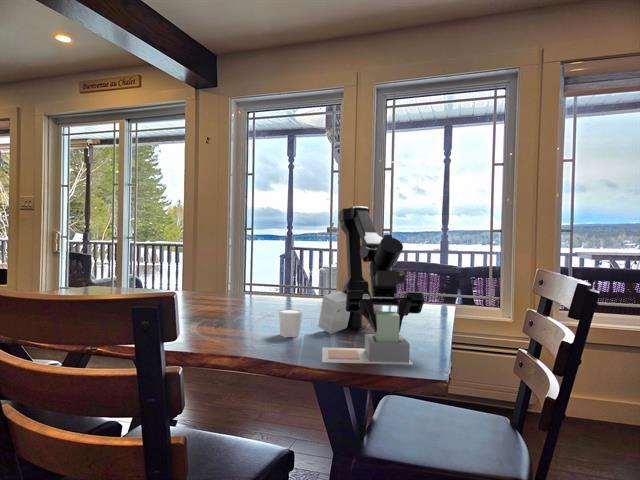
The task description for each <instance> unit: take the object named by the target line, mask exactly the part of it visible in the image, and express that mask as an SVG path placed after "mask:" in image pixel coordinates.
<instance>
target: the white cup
mask: <svg viewBox="0 0 640 480" xmlns="http://www.w3.org/2000/svg"><path fill="white" fill-rule="evenodd" d="M302 314H303V311H301V310H297V309H283V310H279V311H278V321H279V334H280V335H279V336H280V337H282V336H283V337H282V338H287V337H293V338H298V337H300V333H301V323H302V316H303V315H302Z"/></svg>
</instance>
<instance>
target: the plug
mask: <svg viewBox="0 0 640 480" xmlns="http://www.w3.org/2000/svg"><path fill="white" fill-rule="evenodd" d="M396 312H397V311H378V310H377V311H376V310H374V313H375V318H376V323H377V332H374V331H373V334H374V340H375V342H399V335H400V333H399V319H400V316H399V315H398V314H397V313H396Z"/></svg>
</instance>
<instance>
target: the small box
mask: <svg viewBox="0 0 640 480" xmlns="http://www.w3.org/2000/svg"><path fill="white" fill-rule="evenodd" d="M349 315H350V312H347V311H346V294H345V293H343V291H341V290H338V291H336V292H331V293H329V294H325V295H323V296H322V301H321V308H320V314H319V320H318V325H317V326H318V328H320V329H322V330H323V331H324V332H326V333H327V334H329V335H333V334H335V333H337V332H340V331H342V330H344V329H345V328H347V325H348V320H349Z"/></svg>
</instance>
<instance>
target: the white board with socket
mask: <svg viewBox="0 0 640 480" xmlns="http://www.w3.org/2000/svg"><path fill="white" fill-rule="evenodd" d="M410 348H411V346H410V343H409V342H408V341H407V339H406V338H405V337H404V336H403V335H402V334H399V342H375V340H374V333H365V334H364V348H359V347H358V348H355V347H353V348H352V347H351V348H350V347H323V346H322V347H321V349H322V351H321V362H322V363H333V364H334V363H335V364H336V363H337V364H339V363H341V364H376V365H377V364H379V365H406V366H407V365H414V364H413V362H412V360H411V359H410Z"/></svg>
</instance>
